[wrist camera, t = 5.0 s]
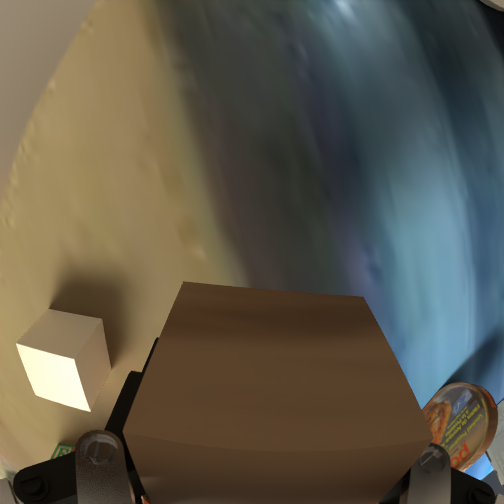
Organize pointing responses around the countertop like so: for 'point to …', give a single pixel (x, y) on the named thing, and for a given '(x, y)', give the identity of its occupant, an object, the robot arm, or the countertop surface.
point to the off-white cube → (66, 358)
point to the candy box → (498, 446)
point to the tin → (462, 422)
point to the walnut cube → (272, 402)
